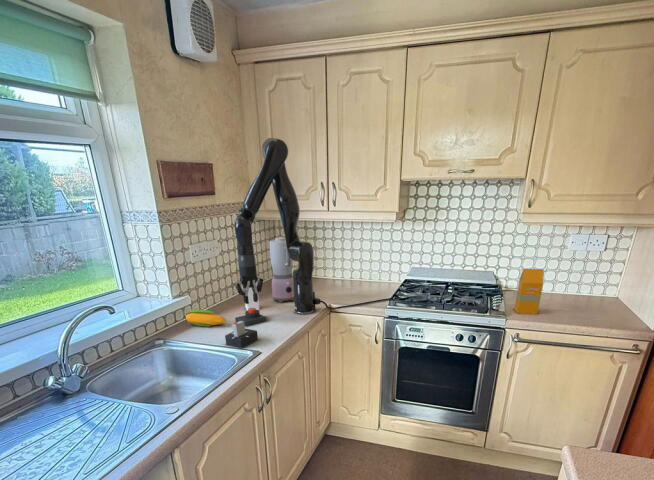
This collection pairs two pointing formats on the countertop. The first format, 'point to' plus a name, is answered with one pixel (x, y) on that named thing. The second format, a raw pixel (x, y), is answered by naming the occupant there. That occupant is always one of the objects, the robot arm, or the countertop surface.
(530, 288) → the orange juice
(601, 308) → the countertop surface
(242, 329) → the timer knob
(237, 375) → the countertop surface
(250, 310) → the power button
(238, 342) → the fryer panel
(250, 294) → the milk
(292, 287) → the blender
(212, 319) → the corn
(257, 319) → the button block
